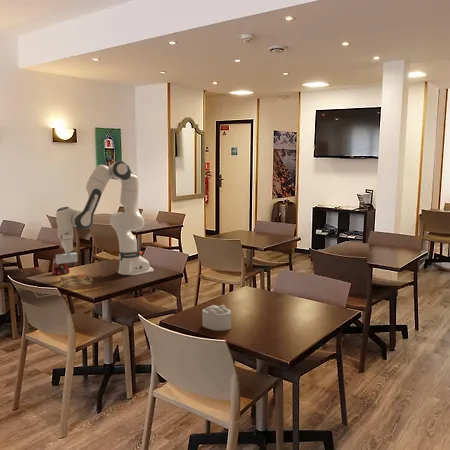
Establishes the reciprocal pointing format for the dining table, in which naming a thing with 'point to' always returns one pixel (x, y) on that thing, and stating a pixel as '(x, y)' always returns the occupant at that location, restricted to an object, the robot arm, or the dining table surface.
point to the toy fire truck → (60, 268)
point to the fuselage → (66, 258)
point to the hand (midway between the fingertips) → (67, 256)
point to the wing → (82, 275)
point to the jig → (75, 281)
